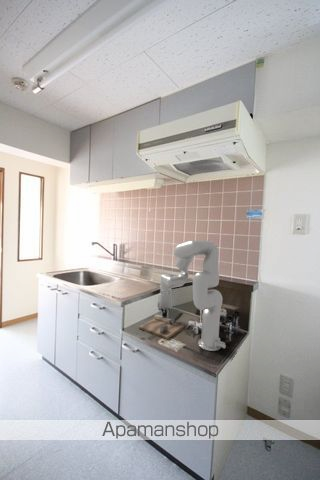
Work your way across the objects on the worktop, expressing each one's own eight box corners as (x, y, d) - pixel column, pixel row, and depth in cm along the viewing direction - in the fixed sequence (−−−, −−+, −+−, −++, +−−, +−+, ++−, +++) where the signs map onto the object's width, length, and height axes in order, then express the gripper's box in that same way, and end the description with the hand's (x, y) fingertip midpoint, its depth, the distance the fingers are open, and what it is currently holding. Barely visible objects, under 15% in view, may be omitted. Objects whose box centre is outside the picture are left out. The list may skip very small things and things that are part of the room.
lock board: (183, 327, 146) (184, 325, 146) (167, 339, 130) (167, 337, 130) (157, 319, 159) (157, 316, 159) (138, 328, 143) (138, 326, 143)
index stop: (167, 332, 138) (167, 325, 138) (162, 335, 134) (163, 328, 134) (164, 331, 140) (165, 324, 139) (160, 334, 135) (160, 327, 135)
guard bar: (174, 323, 149) (174, 318, 149) (172, 324, 146) (172, 320, 146) (156, 317, 157) (156, 313, 157) (153, 318, 155) (154, 314, 155)
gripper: (171, 289, 163) (170, 313, 164) (153, 291, 156) (152, 317, 157) (177, 292, 156) (176, 317, 157) (158, 294, 149) (157, 321, 150)
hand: (164, 317), depth 157 cm, fingers closed
